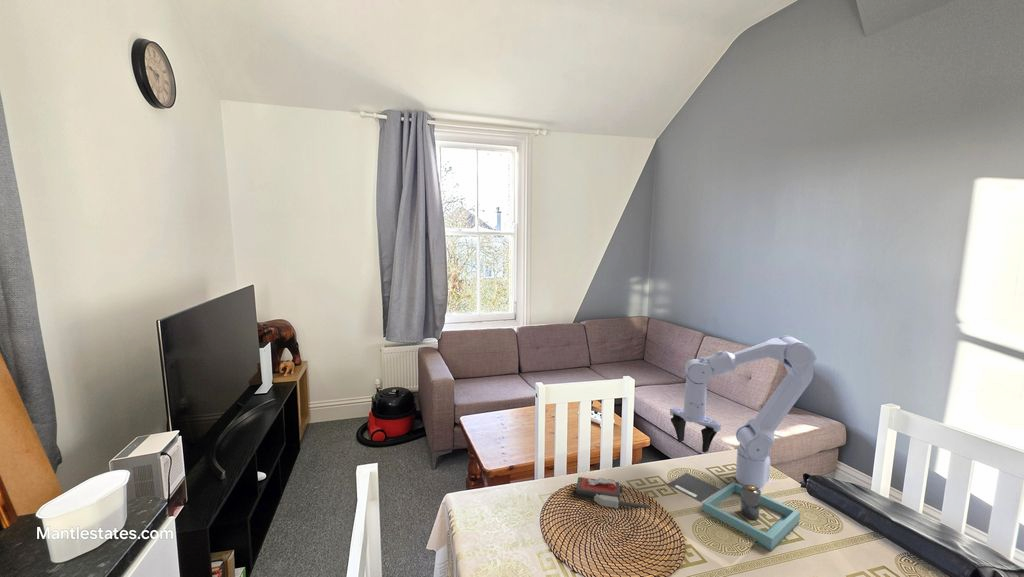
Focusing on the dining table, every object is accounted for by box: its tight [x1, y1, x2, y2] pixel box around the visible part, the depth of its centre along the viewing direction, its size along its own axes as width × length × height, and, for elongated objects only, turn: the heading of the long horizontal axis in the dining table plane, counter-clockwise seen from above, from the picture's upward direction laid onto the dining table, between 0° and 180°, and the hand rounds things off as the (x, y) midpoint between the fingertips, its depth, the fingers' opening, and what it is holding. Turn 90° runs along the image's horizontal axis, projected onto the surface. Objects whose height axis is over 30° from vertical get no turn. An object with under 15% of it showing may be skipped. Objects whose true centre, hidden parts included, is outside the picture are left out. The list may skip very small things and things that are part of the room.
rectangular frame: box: [701, 481, 801, 552], centre depth 103 cm, size 16×16×3 cm
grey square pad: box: [666, 472, 720, 503], centre depth 115 cm, size 10×10×1 cm
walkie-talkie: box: [571, 476, 651, 510], centre depth 111 cm, size 9×4×20 cm
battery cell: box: [740, 485, 762, 521], centre depth 102 cm, size 4×4×8 cm
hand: (692, 446), depth 121 cm, fingers open, 7 cm apart
